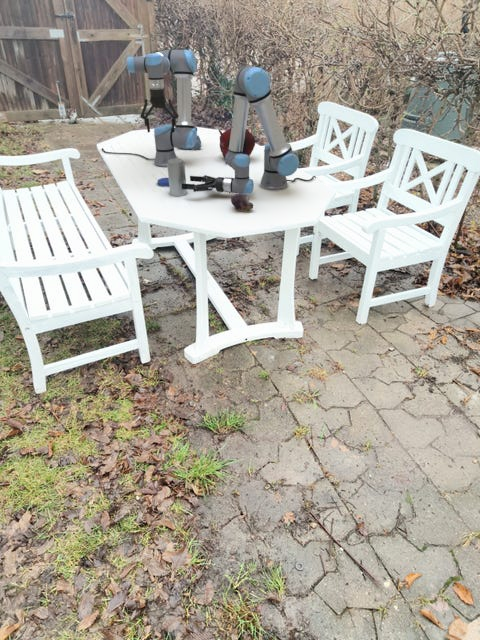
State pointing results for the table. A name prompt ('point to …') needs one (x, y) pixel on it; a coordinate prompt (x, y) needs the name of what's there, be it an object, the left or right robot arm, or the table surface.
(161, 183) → the lid
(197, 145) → the koala plush
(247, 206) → the rock
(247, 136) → the dark red rounded piece
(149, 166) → the table surface
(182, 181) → the jar
